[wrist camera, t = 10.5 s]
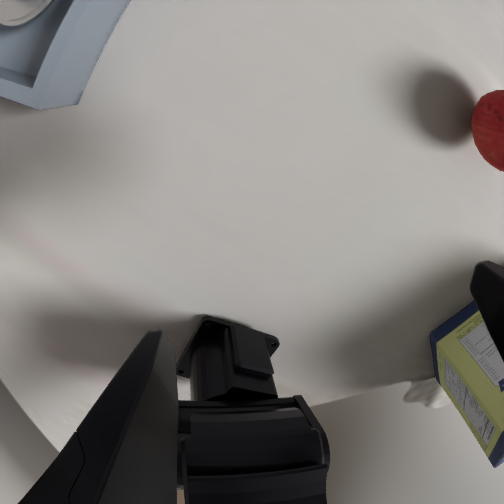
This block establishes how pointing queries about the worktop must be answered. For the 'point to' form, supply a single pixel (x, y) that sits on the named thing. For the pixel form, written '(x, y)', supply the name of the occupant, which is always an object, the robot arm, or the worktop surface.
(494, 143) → the pomegranate
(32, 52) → the tote
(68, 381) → the worktop surface
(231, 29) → the worktop surface
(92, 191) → the worktop surface
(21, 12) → the screw
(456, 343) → the protein box
